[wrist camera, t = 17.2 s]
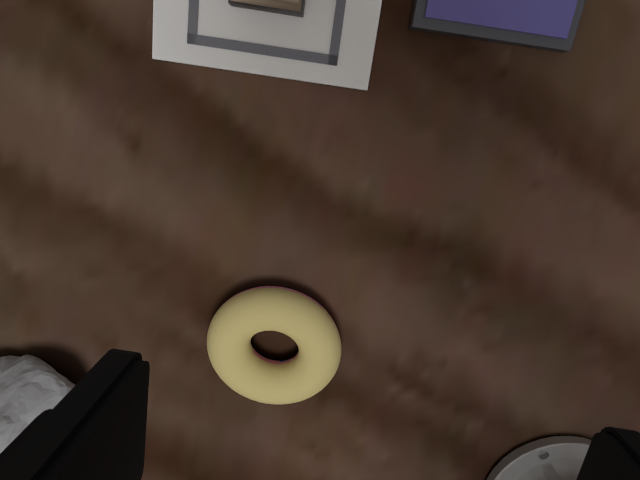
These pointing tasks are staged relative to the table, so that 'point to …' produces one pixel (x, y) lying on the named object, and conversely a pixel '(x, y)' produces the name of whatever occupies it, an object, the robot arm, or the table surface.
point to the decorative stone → (26, 393)
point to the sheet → (271, 39)
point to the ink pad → (503, 21)
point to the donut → (282, 316)
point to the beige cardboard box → (272, 6)
